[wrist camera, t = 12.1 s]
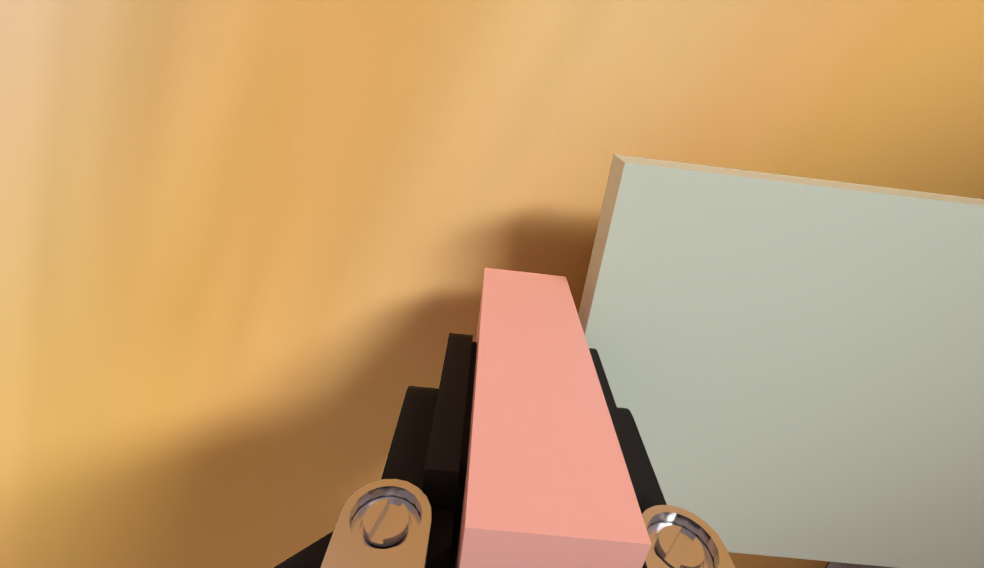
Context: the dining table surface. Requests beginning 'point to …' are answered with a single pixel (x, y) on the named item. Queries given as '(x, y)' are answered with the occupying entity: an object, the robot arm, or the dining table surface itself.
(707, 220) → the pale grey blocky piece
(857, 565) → the tub
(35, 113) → the dining table surface
